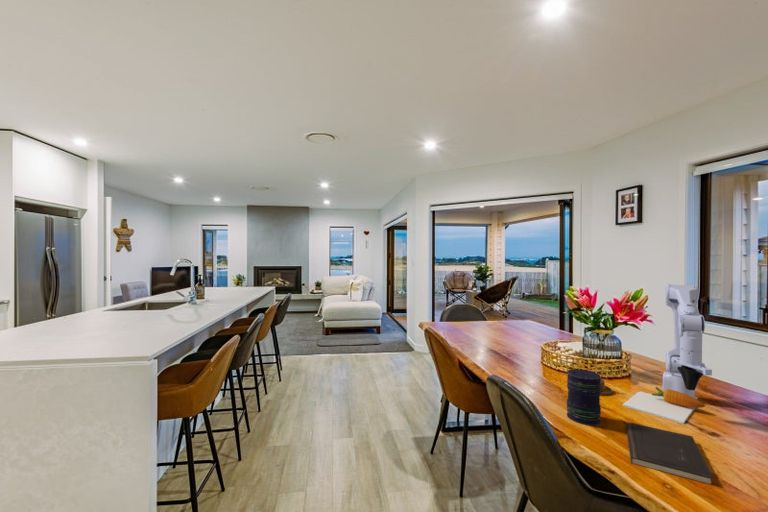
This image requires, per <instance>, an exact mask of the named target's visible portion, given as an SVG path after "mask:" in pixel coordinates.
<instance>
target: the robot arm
mask: <svg viewBox="0 0 768 512" xmlns="http://www.w3.org/2000/svg"><path fill="white" fill-rule="evenodd" d="M664 295H665V304H666V306H668V307H669V308H671V310H672V314H673V335H674V336H673V337H674V348H672V349H669V350H668V351H667V352H666V355H665V369H666V371H664V372H663V374H662V386H661V387H662V389H661V390H662V391H663V392H664V391H665V390H666V389H671V390H675V391H678V392H681V393H684V394H686V395H689V396H691V397H693V398H695V399H697V400H698V399H699V398H698V397H697V396H696V395H695V394H696V393H695V390H696V387H697V385H698V383H699V381H700V379H701V378H702V377H703V376H712V375H713V369H711V368H709V367H708V366H706V364H705V363H704V362H703V333H704V332H705V329H706V321H705V317H704V315H703V314H700V311H699V308H698V306H697V303H698V300H699V295H700V292H699V286H697V285H696V284H694V285H693V284H690V285H689V284H670V283H667V284H666V285H665V288H664Z"/></svg>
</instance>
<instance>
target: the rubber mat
mask: <svg viewBox="0 0 768 512" xmlns="http://www.w3.org/2000/svg"><path fill="white" fill-rule="evenodd" d="M622 407H624V408H628V409H631V410H635V411H638V412H642V413H644V414H648V415H651V416H655V417H658V418H663V419H665V420H668V421H672V422H676V423H678V424H679V423H680V424H682V425H685V423H686V421H687V420H688V419H689V417H690V416H691V415H692V413H693V412H694V411H695V409H696V408H690V407H684V406H679V405H675V404H671V403H668V402H666V401H665V400H664V398H663V396H653V395H652V394H651V393H648V392H644V391H638V392H637V393H635V394H634V395H633V396H631V397H630V398H629V399H627V400H626V401H625V402H624V403H623V404H622Z"/></svg>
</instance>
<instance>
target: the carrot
mask: <svg viewBox="0 0 768 512" xmlns="http://www.w3.org/2000/svg"><path fill="white" fill-rule="evenodd" d="M654 388H655V390H656V391H657V392H654V393H650V394H652V395H653V396H660V397H663V398H664V400H665V401H666V402H668V403H671V404H675V405H679V406H684V407H690V408H695V409H697V408H705V407H706V405H705V404H704V403H703V402H702V401H700V400H698V399H695V398H693V397H691V396H689V395H686V394H684V393H681V392H678V391H675V390H671V389H666V390H665V391H664V392H663V391H662V389H661V388H659V387H658V386H655V387H654Z"/></svg>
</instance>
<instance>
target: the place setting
mask: <svg viewBox="0 0 768 512" xmlns="http://www.w3.org/2000/svg"><path fill="white" fill-rule="evenodd" d="M600 381H601V394H600V396H608V395H611V393H612V392H613V390H612V389H611V387H609V386H607V385H605V380H604V379H603V378H601V380H600ZM603 390H606V392H602V391H603ZM600 401H602V399H601V398H600Z"/></svg>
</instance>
